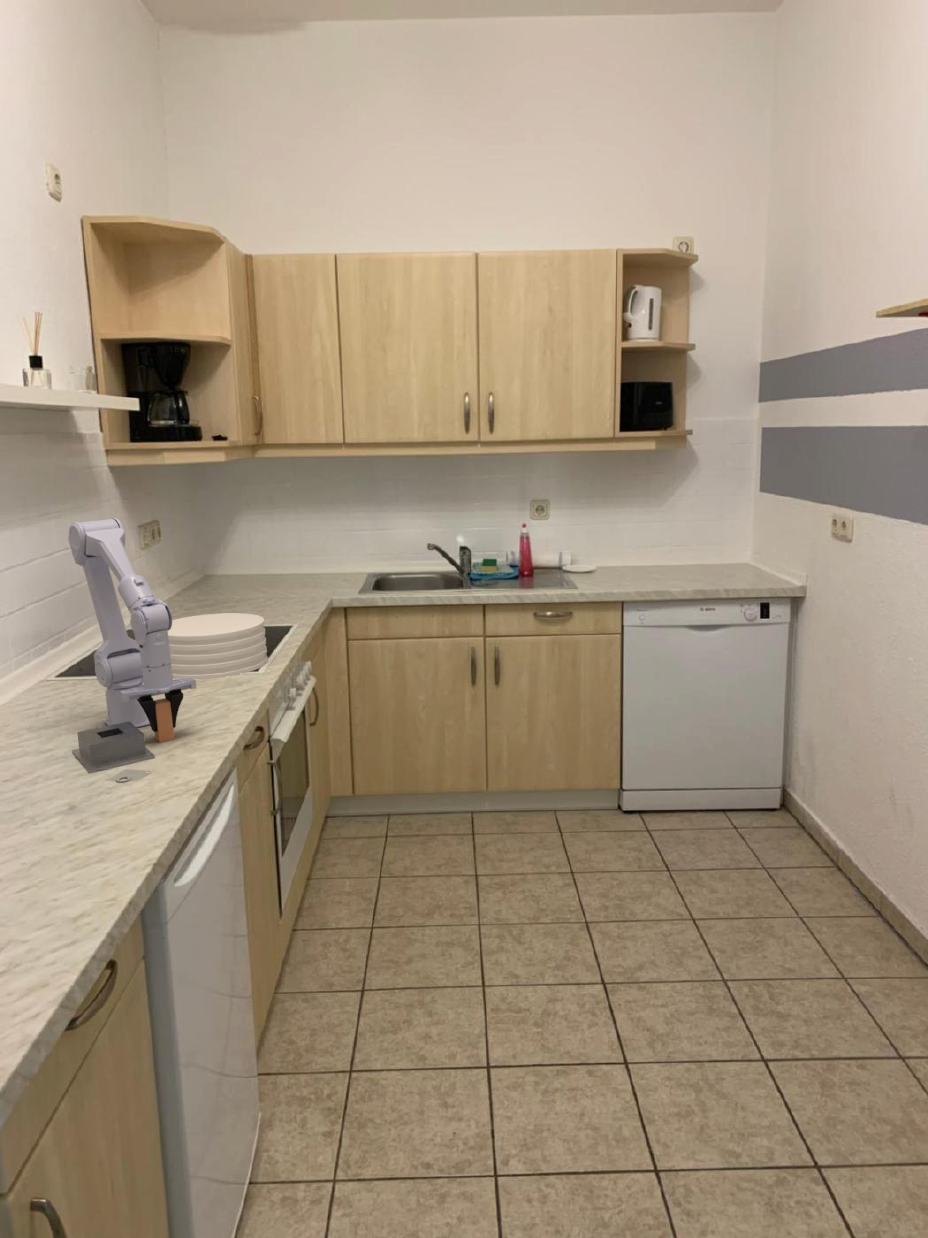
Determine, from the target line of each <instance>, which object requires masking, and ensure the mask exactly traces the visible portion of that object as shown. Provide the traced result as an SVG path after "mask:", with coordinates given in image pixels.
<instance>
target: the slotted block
mask: <svg viewBox="0 0 928 1238" xmlns="http://www.w3.org/2000/svg"><path fill="white" fill-rule="evenodd" d="M76 733H77V739H78V740H77V741H78V748H75V749H71V752H72V754H73V756H74V757H76V759H77V760H78V761H79V762H80V764H81V765H82V766H83V768H84V769H85V770H86V771H87V772H88V773H89V774H92V773H96V772H99V771H105V770H109V769H113V768H118V767H123V766H126V765H130V764H136V763H138V762H143V761H146V760H147V761H149V760H152V759H155V757H156V756H155V754H154V753H153V752H151V750H150V749H148V747H147V746H146V741H145V733H143V732H142V730H140V728H139V727H135V726H134V725H133V724H132V723H131V722H130V721H128V722H124V723H119V724H114V725H109V726H108V725H106V726H105V725H104V726H100V727H95V728H91V729H86V730H80V731H77V732H76Z"/></svg>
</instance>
